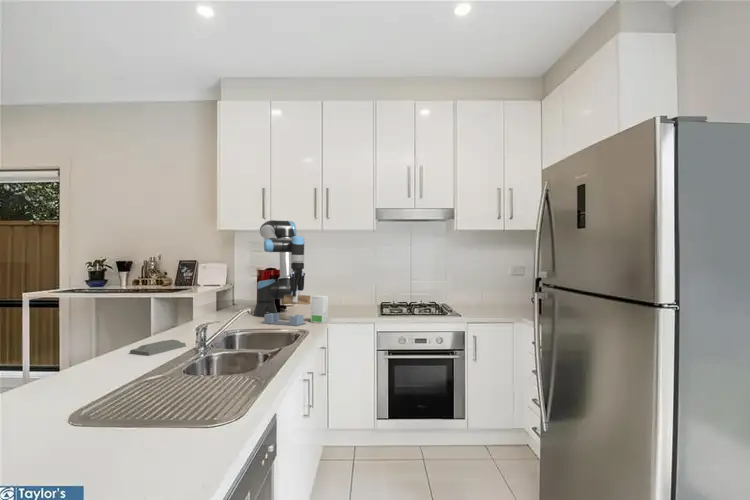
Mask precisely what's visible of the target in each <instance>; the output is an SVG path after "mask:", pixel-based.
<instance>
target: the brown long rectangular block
mask: <svg viewBox="0 0 750 500" xmlns="http://www.w3.org/2000/svg"><path fill="white" fill-rule="evenodd" d="M283 304H286V305H287V304H289V305H290V304H291V305H304V306H306V305H308V306H309V305H311V295H305V294H301V295H297V302H293V295H284V299H283Z"/></svg>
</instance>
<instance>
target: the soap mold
mask: <svg viewBox="0 0 750 500" xmlns="http://www.w3.org/2000/svg"><path fill="white" fill-rule="evenodd" d="M185 347H187V344H186V342H183V341H180V340H177V339H168V340H161V341H157V342H152V343H146V344H143V345H140V346H138V347H137V348H133V349H130V351H129V353H128V354H129V355H138V356H148V357H150V356H154V355H158V354H162V353H163V354H164V353H166V352H170V351H174V350H177V349H181V348H185Z"/></svg>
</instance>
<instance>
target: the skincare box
mask: <svg viewBox="0 0 750 500" xmlns="http://www.w3.org/2000/svg"><path fill="white" fill-rule="evenodd" d="M310 308H311V309H310V310H311V312H310V322H311V323H314V324H315V323H317V324H324V323H328V318H329V317H328V316H329V313H328V312H329V296H327V295H312V296H311V307H310Z"/></svg>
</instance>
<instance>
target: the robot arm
mask: <svg viewBox="0 0 750 500" xmlns="http://www.w3.org/2000/svg"><path fill="white" fill-rule="evenodd" d="M297 232H298V231H297V226H296V223H295V222H294V221H292V220H274V219H272V220H271V219H270V220H268V221H266V222H264V223H262V224H261V226H260V227H259V234H260V236H261V237H262V238H263V239H264V241H263V250H264V252H265V253H266V252H267V253H279V277H278V278H277V281H276V279H274V278H273V279H265V280H259V281H258V282H257V283H256V304H255V308H254V311H253V316H255V317H264V314H270V313H277V314H278V310H277V307H276V304H275V300H281V299H283V300H284V295H293V302H297V295H302V291H304V289H305V275H306V272H303V270H304V269H305V263H304V262H305V242H306V241H305V237H304V236H300V235H299V236H297Z"/></svg>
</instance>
